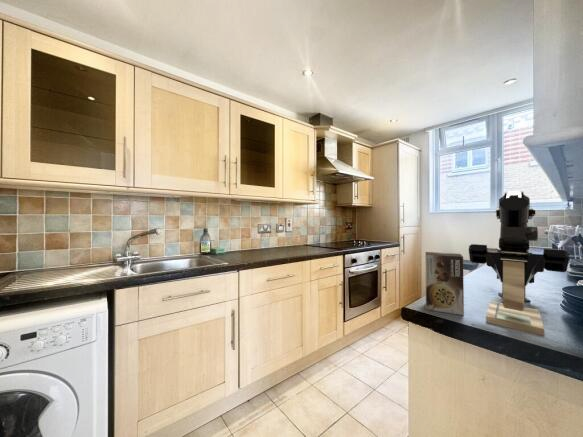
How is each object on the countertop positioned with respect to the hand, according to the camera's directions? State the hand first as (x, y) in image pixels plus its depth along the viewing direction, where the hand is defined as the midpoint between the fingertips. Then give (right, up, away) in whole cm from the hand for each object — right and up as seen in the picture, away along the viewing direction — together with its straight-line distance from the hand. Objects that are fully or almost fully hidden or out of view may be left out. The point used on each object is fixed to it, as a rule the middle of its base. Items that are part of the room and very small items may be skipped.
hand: (513, 283), depth 58 cm
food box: (-11, -11, +10) cm, 18 cm away
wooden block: (0, -6, +1) cm, 6 cm away
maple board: (+3, -10, +4) cm, 12 cm away
